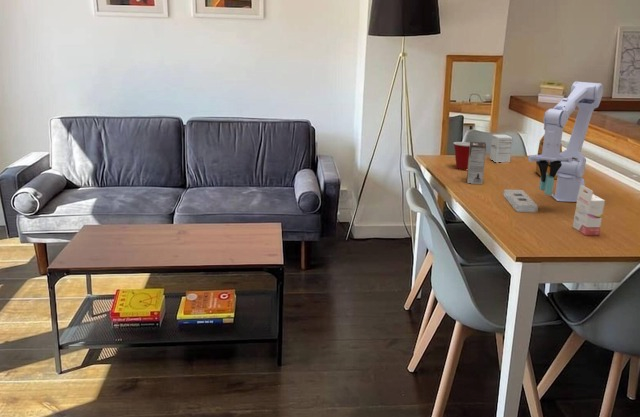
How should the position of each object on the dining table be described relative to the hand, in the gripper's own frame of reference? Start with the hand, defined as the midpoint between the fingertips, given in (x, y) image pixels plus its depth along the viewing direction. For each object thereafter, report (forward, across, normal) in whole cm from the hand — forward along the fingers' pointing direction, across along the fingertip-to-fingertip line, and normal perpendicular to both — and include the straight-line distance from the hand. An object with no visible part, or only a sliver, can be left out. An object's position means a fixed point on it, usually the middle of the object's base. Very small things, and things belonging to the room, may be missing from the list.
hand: (546, 181), depth 208 cm
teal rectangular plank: (+4, 0, 0) cm, 4 cm away
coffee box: (+11, -17, +36) cm, 41 cm away
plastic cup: (+11, -18, +58) cm, 62 cm away
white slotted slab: (+10, -7, +6) cm, 14 cm away
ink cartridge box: (+11, +7, -22) cm, 25 cm away
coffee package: (+11, +17, +49) cm, 53 cm away
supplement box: (+11, +2, +74) cm, 75 cm away
